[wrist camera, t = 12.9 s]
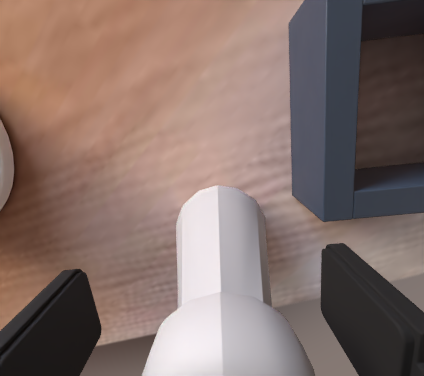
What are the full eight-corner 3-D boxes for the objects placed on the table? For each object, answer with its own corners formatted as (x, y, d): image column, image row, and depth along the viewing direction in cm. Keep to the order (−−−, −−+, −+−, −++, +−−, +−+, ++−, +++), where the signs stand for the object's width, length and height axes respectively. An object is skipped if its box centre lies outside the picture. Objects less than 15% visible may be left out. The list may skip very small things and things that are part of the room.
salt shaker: (274, 206, 17) (447, 433, 4) (230, 263, 18) (263, 568, 6) (208, 162, 16) (183, 281, 4) (167, 225, 17) (39, 476, 5)
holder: (292, 195, 17) (323, 222, 12) (288, 23, 14) (326, -34, 9) (448, 180, 16) (548, 201, 11) (476, -1, 14) (622, -74, 9)
